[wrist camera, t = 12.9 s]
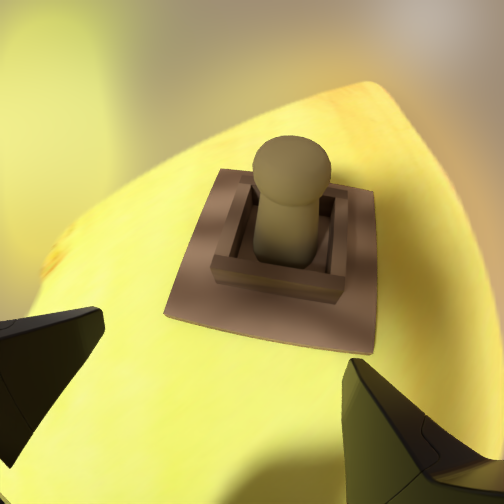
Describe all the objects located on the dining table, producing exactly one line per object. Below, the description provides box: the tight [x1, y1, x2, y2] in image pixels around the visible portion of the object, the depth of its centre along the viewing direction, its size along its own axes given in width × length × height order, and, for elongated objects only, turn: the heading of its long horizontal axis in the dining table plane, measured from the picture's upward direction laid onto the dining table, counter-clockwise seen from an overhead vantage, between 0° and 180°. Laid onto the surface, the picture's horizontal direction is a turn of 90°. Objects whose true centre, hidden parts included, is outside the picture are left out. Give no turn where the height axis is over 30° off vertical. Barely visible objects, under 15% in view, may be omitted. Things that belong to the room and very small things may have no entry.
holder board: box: [163, 169, 377, 355], centre depth 24 cm, size 18×18×4 cm
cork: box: [253, 136, 331, 270], centre depth 20 cm, size 6×6×11 cm
